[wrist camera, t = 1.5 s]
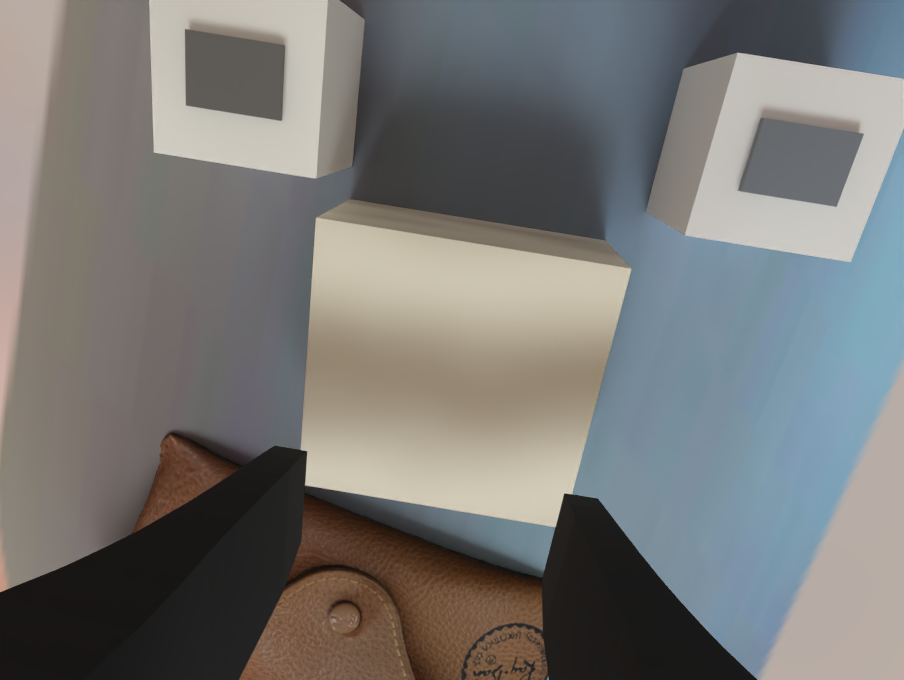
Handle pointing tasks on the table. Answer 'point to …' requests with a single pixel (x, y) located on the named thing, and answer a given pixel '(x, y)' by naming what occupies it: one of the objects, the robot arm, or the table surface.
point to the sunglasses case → (374, 596)
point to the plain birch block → (454, 358)
